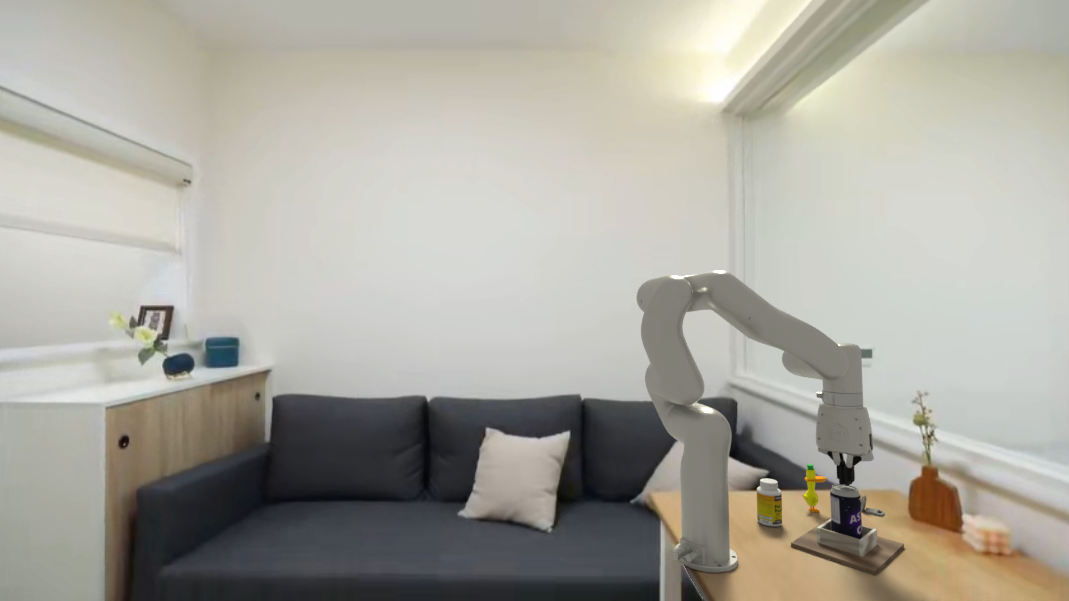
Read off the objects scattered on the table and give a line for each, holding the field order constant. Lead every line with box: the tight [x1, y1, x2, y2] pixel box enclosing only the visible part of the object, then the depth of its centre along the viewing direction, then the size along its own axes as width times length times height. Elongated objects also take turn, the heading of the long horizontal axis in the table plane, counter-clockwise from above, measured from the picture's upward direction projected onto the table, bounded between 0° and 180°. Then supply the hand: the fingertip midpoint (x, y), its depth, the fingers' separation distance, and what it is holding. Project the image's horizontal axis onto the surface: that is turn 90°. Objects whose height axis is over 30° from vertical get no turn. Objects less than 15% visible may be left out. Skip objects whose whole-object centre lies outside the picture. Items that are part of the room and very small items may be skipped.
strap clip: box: [861, 494, 885, 518], centre depth 130 cm, size 8×3×4 cm, turn 42°
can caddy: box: [790, 518, 905, 576], centre depth 109 cm, size 18×16×4 cm
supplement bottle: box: [756, 477, 783, 528], centre depth 123 cm, size 6×6×10 cm
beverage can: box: [829, 483, 863, 539], centre depth 110 cm, size 6×6×12 cm
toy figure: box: [801, 463, 828, 514], centre depth 130 cm, size 7×4×12 cm, turn 94°
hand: (846, 483), depth 110 cm, fingers closed
